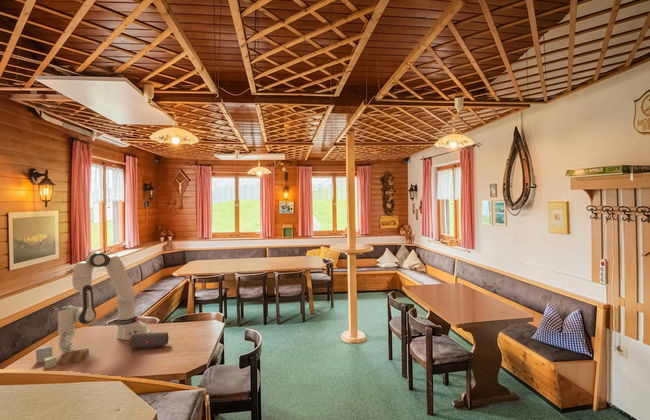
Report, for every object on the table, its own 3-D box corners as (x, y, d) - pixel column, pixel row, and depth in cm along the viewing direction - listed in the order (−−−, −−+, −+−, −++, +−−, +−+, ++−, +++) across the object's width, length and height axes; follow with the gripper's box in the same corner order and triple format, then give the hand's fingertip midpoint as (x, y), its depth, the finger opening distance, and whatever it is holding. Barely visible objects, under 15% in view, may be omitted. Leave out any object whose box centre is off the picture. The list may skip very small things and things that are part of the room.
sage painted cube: (55, 363, 210) (54, 355, 210) (56, 365, 206) (55, 358, 206) (44, 366, 206) (44, 358, 206) (45, 368, 203) (45, 360, 203)
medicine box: (52, 357, 218) (52, 344, 218) (52, 360, 215) (52, 346, 214) (36, 361, 213) (36, 348, 213) (36, 364, 210) (35, 350, 209)
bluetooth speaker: (129, 352, 223) (128, 337, 223) (135, 346, 232) (134, 332, 232) (164, 349, 226) (164, 334, 226) (169, 343, 236) (168, 329, 235)
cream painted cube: (72, 350, 229) (72, 343, 228) (70, 353, 224) (70, 346, 224) (63, 351, 226) (63, 344, 226) (61, 354, 222) (61, 347, 222)
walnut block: (89, 354, 223) (88, 348, 223) (84, 361, 212) (84, 355, 212) (67, 357, 218) (66, 351, 218) (61, 365, 207) (61, 359, 207)
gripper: (67, 334, 217) (68, 355, 217) (76, 324, 235) (76, 343, 236) (55, 336, 214) (56, 357, 214) (65, 326, 233) (65, 345, 233)
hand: (67, 350), depth 225 cm, fingers closed on cream painted cube, 5 cm apart
